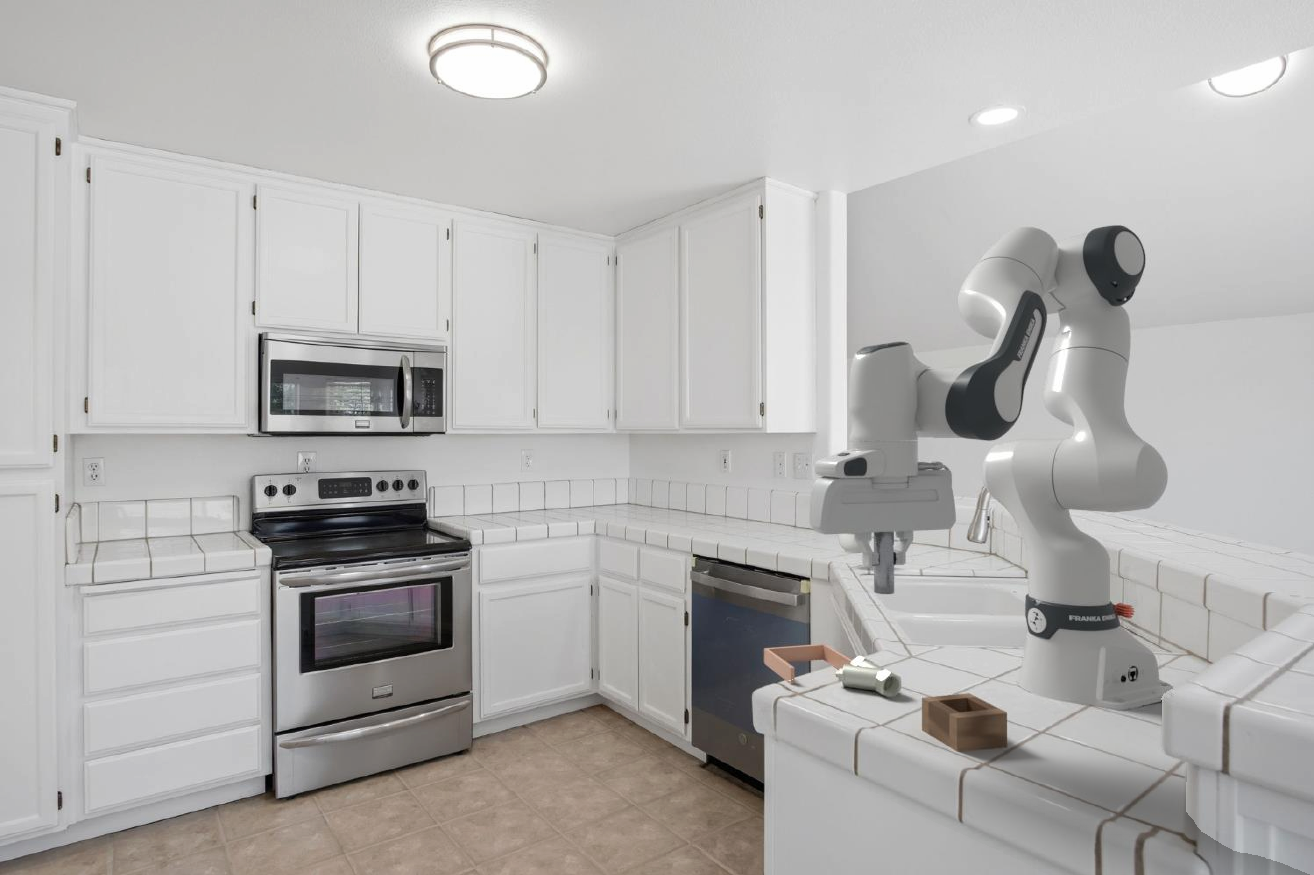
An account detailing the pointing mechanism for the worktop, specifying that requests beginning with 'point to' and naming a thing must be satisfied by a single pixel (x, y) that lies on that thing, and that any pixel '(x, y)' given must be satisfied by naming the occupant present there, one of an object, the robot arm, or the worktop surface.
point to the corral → (801, 658)
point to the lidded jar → (849, 543)
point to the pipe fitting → (869, 677)
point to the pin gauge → (884, 563)
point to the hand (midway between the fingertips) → (883, 565)
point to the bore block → (964, 722)
